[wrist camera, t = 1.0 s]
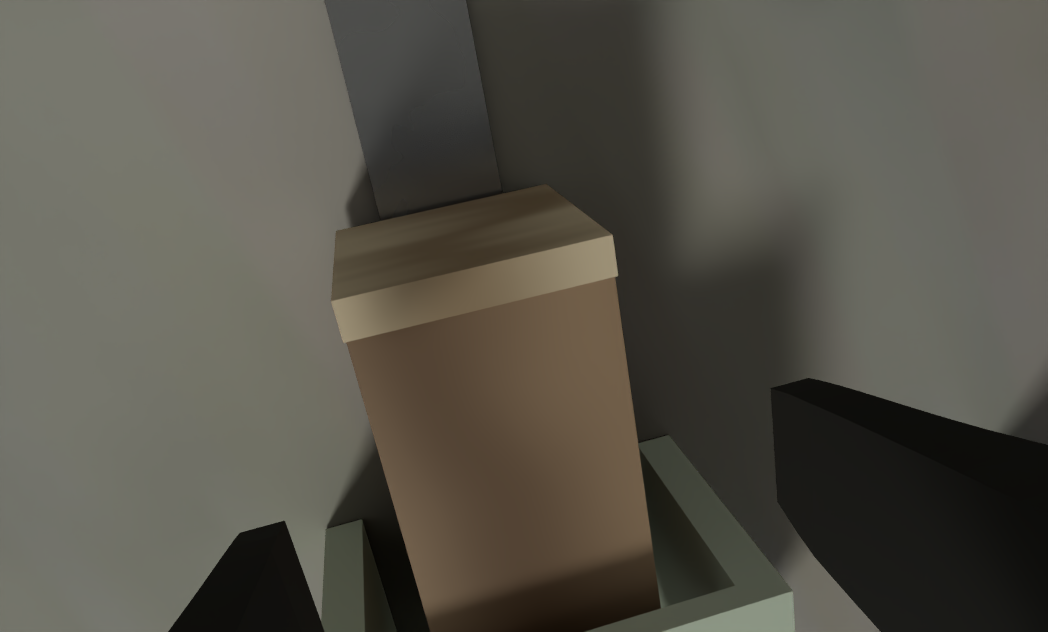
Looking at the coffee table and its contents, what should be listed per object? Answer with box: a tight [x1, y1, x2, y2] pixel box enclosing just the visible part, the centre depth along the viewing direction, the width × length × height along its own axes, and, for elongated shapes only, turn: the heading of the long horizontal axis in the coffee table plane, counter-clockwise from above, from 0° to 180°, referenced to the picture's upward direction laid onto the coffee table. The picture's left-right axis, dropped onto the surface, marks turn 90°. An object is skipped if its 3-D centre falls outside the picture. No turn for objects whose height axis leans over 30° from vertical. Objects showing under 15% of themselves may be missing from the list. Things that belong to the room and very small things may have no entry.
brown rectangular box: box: [331, 184, 661, 632], centre depth 18 cm, size 5×12×5 cm, turn 10°
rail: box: [325, 0, 503, 221], centre depth 20 cm, size 3×30×1 cm, turn 10°
